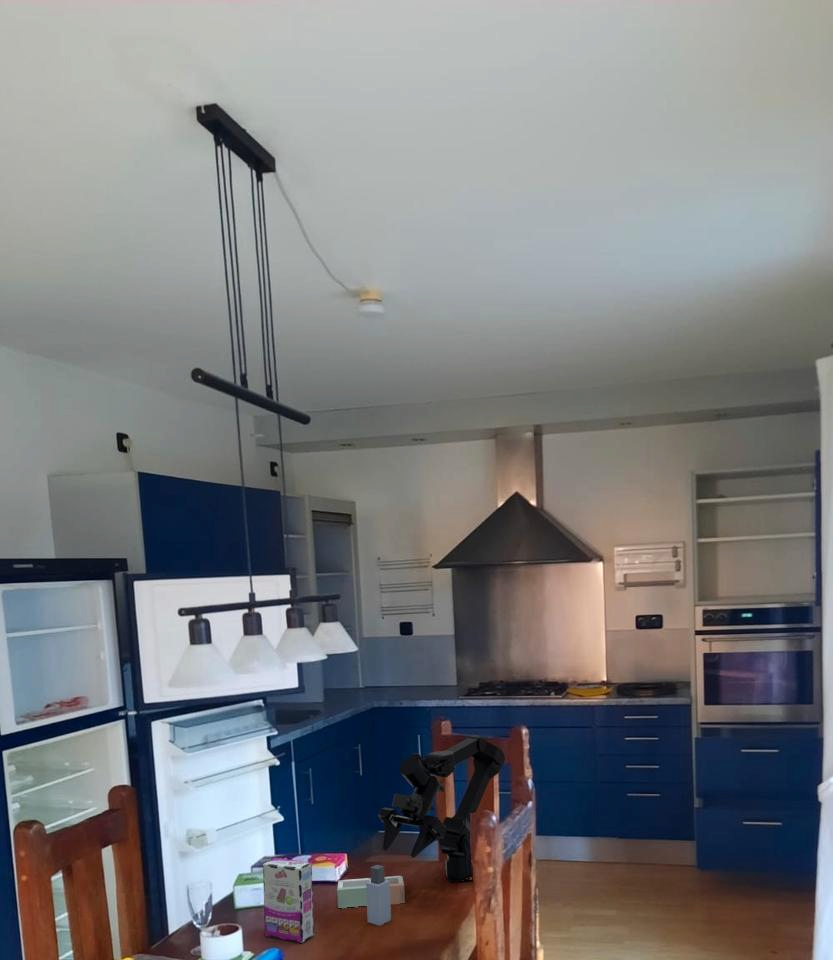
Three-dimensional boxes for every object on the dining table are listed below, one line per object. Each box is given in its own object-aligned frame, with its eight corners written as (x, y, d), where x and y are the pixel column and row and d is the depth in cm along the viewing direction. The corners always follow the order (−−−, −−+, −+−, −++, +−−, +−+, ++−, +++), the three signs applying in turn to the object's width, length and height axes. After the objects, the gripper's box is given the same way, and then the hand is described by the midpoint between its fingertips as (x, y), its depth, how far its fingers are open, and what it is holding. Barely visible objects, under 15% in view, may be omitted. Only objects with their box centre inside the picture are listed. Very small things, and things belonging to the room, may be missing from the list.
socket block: (338, 894, 219) (338, 876, 219) (402, 889, 220) (402, 871, 221) (338, 908, 209) (337, 890, 210) (404, 903, 210) (404, 885, 211)
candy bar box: (315, 935, 194) (313, 862, 196) (302, 944, 190) (300, 869, 192) (276, 928, 199) (274, 856, 201) (263, 936, 195) (261, 863, 197)
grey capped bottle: (378, 916, 203) (376, 863, 205) (391, 920, 201) (388, 865, 202) (367, 922, 200) (365, 867, 202) (380, 925, 198) (377, 870, 199)
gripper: (381, 775, 220) (354, 830, 210) (437, 784, 208) (411, 842, 199) (401, 799, 225) (376, 853, 215) (457, 809, 214) (433, 866, 204)
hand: (397, 853), depth 208 cm, fingers open, 9 cm apart
